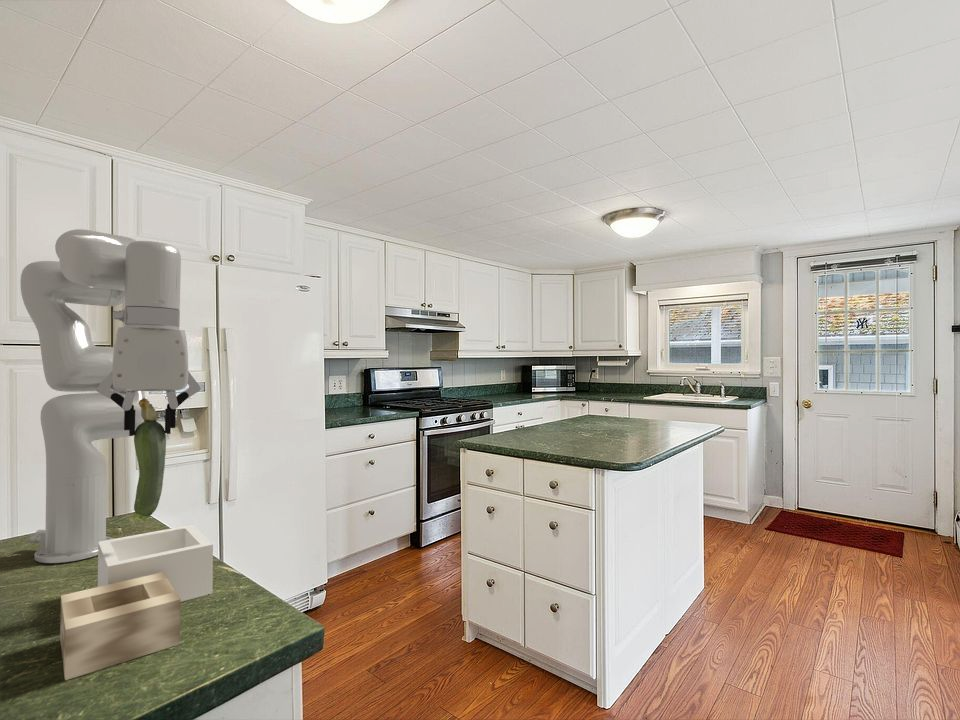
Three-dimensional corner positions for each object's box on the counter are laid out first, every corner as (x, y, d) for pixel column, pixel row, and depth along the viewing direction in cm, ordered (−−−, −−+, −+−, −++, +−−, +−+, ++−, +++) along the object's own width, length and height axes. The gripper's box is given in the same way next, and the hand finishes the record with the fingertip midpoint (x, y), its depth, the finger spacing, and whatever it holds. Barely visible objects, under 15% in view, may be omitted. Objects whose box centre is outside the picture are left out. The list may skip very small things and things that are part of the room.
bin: (107, 621, 74) (107, 566, 74) (97, 589, 85) (98, 541, 85) (212, 593, 84) (212, 544, 84) (192, 568, 94) (192, 524, 94)
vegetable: (159, 515, 85) (162, 396, 85) (168, 521, 82) (171, 397, 82) (127, 521, 82) (131, 397, 82) (136, 527, 79) (139, 398, 79)
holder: (65, 680, 60) (65, 629, 60) (60, 639, 69) (60, 595, 69) (180, 644, 68) (180, 599, 68) (162, 611, 77) (163, 572, 77)
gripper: (84, 315, 74) (81, 441, 74) (213, 322, 84) (211, 433, 84) (89, 318, 81) (86, 434, 81) (208, 324, 90) (206, 428, 90)
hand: (150, 432), depth 82 cm, fingers closed on vegetable, 4 cm apart
